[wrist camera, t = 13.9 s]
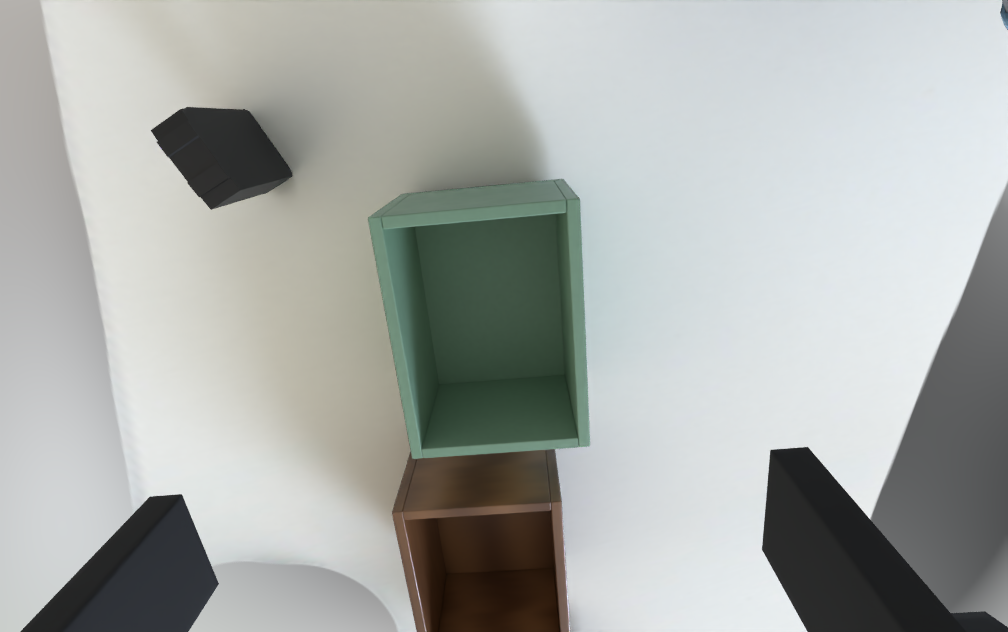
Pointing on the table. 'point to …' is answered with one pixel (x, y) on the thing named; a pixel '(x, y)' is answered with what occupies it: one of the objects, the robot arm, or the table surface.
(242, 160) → the ink cartridge
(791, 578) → the robot arm
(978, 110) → the table surface
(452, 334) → the box
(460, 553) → the bottom basket
